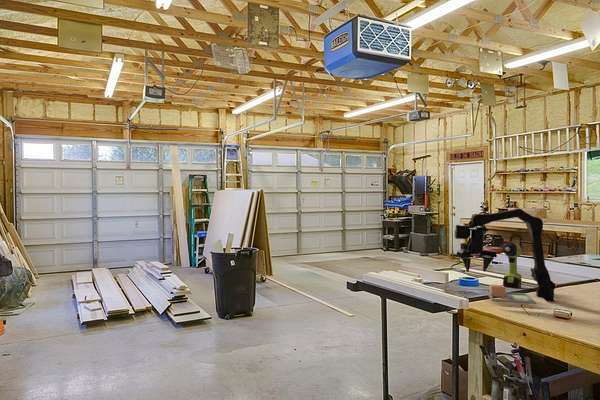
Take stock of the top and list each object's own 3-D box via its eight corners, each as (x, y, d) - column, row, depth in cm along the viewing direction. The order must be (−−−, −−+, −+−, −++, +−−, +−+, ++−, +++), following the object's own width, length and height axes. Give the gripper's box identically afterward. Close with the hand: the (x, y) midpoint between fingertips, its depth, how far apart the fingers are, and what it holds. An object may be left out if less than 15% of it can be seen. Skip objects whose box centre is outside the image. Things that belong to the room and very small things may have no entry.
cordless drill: (513, 295, 215) (514, 245, 215) (498, 293, 220) (499, 243, 219) (522, 287, 234) (523, 240, 233) (507, 285, 238) (508, 239, 237)
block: (502, 294, 211) (503, 285, 211) (504, 296, 206) (505, 287, 206) (489, 293, 213) (489, 284, 213) (491, 295, 208) (491, 286, 208)
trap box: (526, 298, 210) (526, 293, 210) (535, 307, 195) (535, 302, 194) (486, 295, 215) (486, 291, 215) (491, 303, 199) (492, 299, 199)
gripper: (483, 237, 222) (482, 267, 223) (450, 237, 218) (449, 268, 219) (498, 240, 212) (496, 272, 212) (463, 240, 207) (462, 273, 208)
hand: (476, 271), depth 213 cm, fingers open, 9 cm apart
